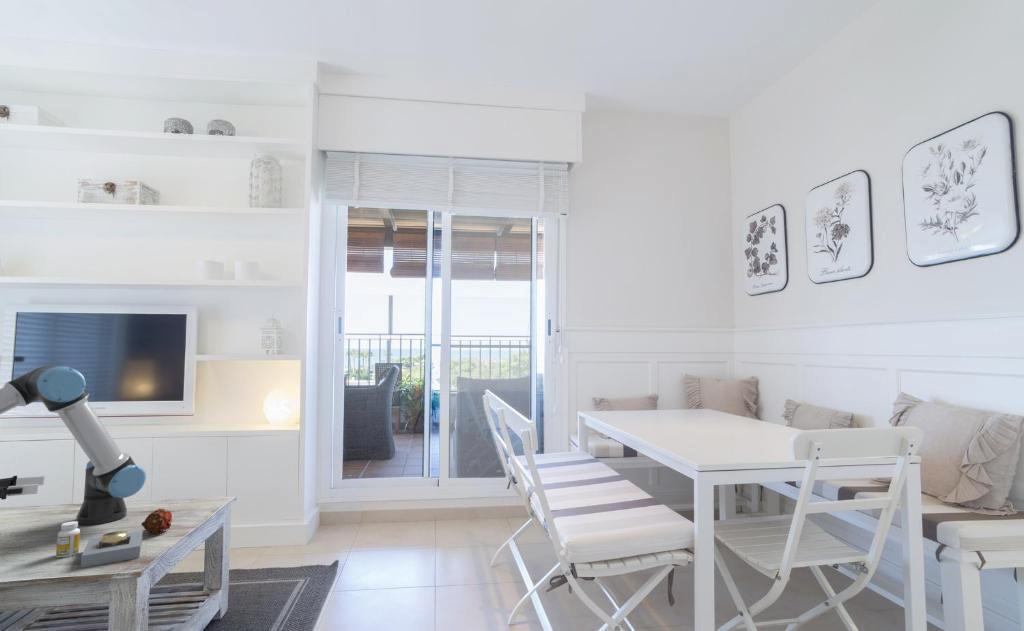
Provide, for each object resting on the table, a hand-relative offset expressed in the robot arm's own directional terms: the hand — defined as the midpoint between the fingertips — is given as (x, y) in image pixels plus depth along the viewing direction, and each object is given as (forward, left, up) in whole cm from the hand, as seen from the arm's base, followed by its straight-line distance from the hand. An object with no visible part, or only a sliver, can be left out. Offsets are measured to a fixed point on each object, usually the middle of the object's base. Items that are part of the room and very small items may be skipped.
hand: (41, 484), depth 158 cm
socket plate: (+10, +20, -22) cm, 32 cm away
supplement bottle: (+3, +8, -22) cm, 24 cm away
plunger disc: (+10, +20, -19) cm, 29 cm away
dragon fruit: (-7, +31, -22) cm, 39 cm away
